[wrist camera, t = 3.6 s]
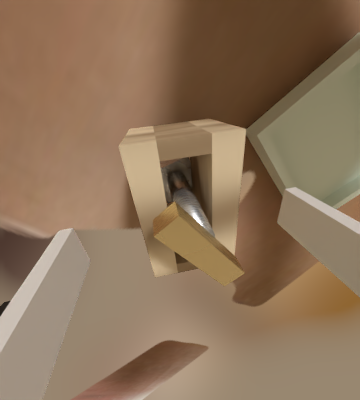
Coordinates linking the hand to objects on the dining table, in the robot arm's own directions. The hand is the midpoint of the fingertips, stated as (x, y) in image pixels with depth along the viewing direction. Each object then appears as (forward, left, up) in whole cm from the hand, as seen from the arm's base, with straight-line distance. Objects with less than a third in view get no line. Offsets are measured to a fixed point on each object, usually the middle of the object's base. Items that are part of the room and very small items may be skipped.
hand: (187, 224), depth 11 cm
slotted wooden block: (0, 0, -6) cm, 6 cm away
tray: (+11, +15, -10) cm, 21 cm away
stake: (0, 0, -10) cm, 10 cm away
